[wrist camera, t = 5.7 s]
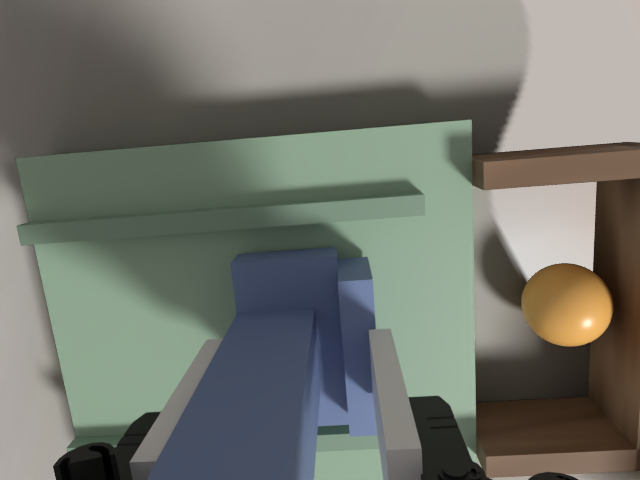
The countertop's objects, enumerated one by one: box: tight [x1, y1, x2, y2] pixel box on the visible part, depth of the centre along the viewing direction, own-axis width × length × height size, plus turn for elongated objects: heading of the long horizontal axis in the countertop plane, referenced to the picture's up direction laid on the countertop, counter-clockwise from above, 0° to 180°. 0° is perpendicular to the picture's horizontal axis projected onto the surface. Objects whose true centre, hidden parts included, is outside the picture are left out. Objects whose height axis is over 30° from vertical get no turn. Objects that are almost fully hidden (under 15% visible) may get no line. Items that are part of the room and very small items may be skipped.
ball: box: [521, 263, 614, 346], centre depth 21 cm, size 4×4×4 cm
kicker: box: [146, 247, 377, 480], centre depth 14 cm, size 7×5×14 cm
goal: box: [472, 142, 640, 478], centre depth 21 cm, size 13×7×4 cm, turn 5°
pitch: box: [15, 120, 477, 480], centre depth 22 cm, size 16×18×3 cm
